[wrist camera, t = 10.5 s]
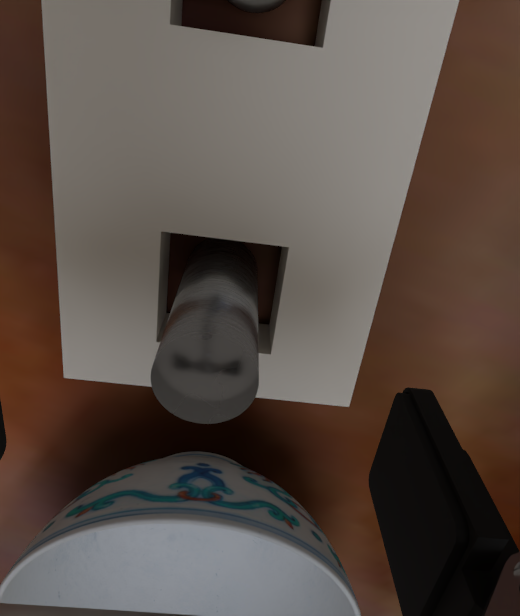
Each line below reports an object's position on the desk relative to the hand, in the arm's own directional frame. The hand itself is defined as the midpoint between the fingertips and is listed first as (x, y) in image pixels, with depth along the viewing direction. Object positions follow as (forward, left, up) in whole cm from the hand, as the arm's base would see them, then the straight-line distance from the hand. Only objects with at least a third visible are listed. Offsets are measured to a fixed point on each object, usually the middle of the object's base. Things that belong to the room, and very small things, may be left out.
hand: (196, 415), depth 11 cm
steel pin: (+1, 0, -10) cm, 10 cm away
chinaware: (+14, 0, -10) cm, 17 cm away
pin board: (-5, 0, -10) cm, 11 cm away
